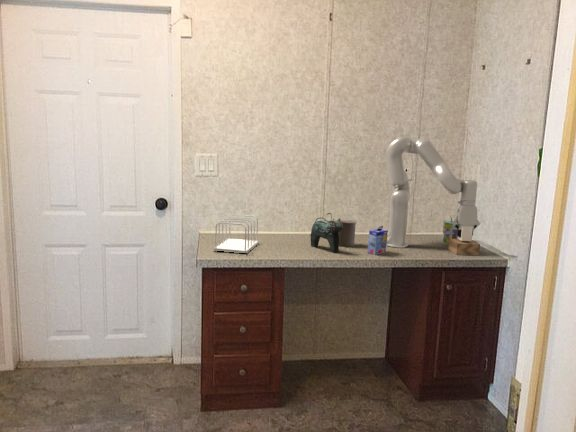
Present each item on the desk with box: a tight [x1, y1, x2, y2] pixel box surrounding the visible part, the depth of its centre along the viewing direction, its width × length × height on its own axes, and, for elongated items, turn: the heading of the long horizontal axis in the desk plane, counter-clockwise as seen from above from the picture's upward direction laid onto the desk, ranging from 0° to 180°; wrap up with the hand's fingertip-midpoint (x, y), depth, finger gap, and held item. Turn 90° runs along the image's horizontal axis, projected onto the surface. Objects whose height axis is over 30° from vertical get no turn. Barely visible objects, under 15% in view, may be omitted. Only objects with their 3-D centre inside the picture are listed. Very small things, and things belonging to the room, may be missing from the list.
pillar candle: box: [338, 219, 356, 248], centre depth 277 cm, size 10×10×15 cm
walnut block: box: [448, 239, 481, 256], centre depth 270 cm, size 12×12×6 cm
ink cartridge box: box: [367, 225, 389, 256], centre depth 262 cm, size 10×6×14 cm, turn 136°
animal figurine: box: [310, 212, 343, 254], centre depth 265 cm, size 20×6×20 cm, turn 41°
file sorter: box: [213, 214, 260, 254], centre depth 264 cm, size 25×17×16 cm
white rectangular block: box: [458, 225, 474, 241], centre depth 269 cm, size 6×6×9 cm
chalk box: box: [441, 216, 458, 243], centre depth 296 cm, size 9×9×15 cm
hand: (464, 236), depth 269 cm, fingers closed on white rectangular block, 5 cm apart
